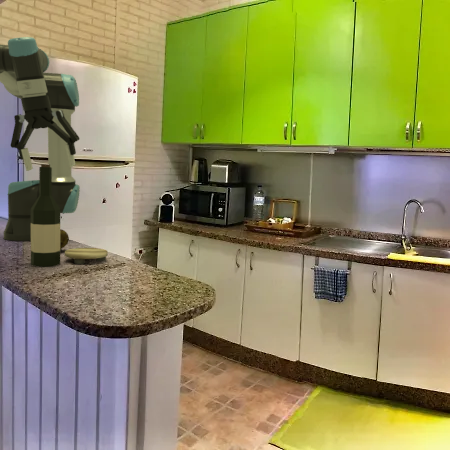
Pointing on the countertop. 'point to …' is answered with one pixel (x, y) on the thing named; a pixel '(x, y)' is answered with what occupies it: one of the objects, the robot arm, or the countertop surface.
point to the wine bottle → (45, 223)
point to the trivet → (86, 254)
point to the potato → (63, 238)
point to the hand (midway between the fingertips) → (51, 168)
